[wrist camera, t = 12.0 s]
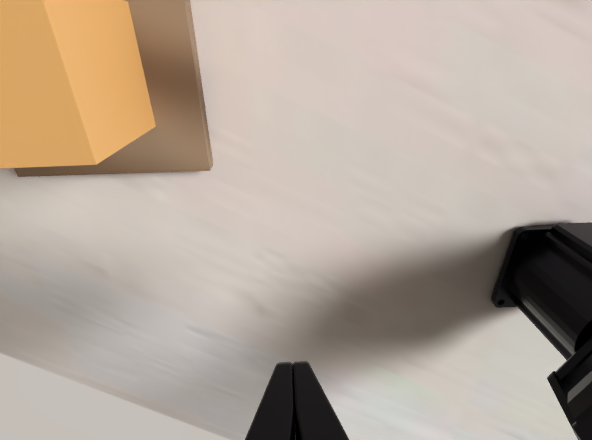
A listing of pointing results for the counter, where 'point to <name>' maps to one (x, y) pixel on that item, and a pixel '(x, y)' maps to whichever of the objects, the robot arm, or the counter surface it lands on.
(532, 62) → the counter surface
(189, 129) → the walnut base
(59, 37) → the tan wooden cube
